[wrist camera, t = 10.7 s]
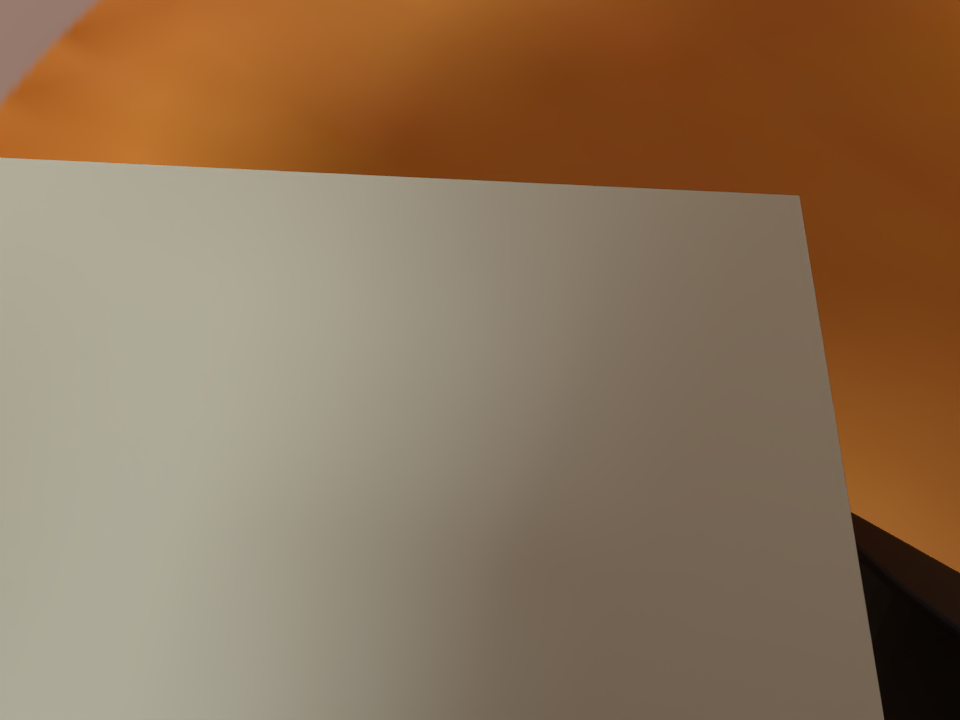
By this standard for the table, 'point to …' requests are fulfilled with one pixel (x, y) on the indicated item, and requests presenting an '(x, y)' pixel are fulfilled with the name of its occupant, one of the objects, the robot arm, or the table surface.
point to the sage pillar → (416, 452)
